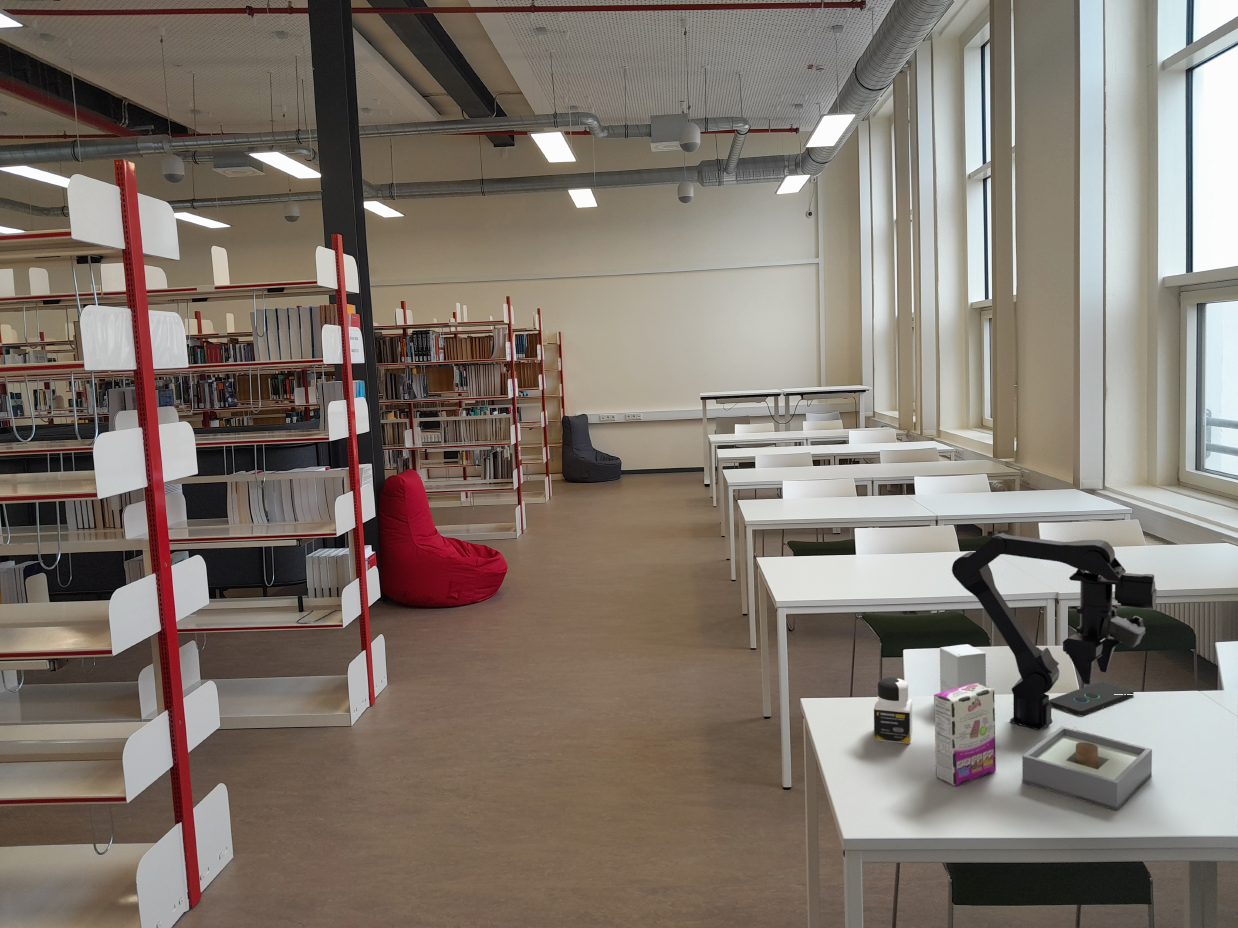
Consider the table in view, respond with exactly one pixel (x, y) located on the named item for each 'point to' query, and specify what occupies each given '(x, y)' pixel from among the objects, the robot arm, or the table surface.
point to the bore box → (1087, 768)
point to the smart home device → (1091, 698)
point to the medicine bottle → (893, 712)
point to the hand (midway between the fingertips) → (1095, 677)
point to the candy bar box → (965, 733)
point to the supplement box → (961, 666)
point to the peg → (1087, 755)
